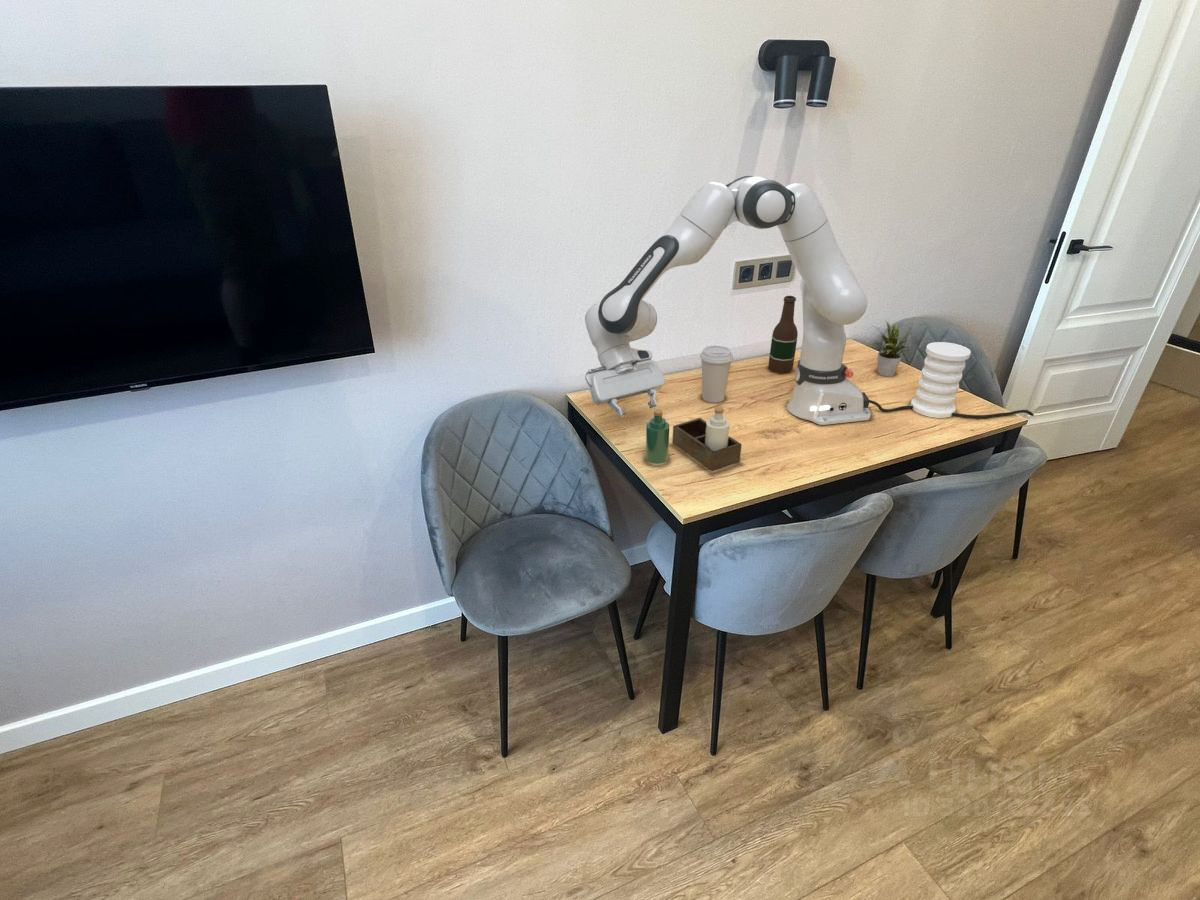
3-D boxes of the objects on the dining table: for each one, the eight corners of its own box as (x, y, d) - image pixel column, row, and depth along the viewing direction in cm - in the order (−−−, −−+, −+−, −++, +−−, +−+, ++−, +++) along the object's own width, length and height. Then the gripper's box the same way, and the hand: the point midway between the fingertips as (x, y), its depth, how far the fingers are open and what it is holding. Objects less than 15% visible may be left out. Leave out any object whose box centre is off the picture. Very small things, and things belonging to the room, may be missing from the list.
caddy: (672, 445, 166) (673, 425, 164) (698, 437, 170) (700, 417, 167) (711, 474, 154) (713, 453, 151) (739, 464, 158) (741, 444, 155)
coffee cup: (693, 401, 189) (696, 354, 181) (701, 389, 196) (704, 342, 189) (725, 406, 185) (730, 358, 178) (732, 393, 193) (737, 346, 186)
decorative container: (964, 413, 180) (982, 352, 171) (933, 421, 176) (950, 359, 167) (931, 397, 189) (946, 339, 180) (901, 404, 185) (915, 345, 176)
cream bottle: (724, 452, 161) (729, 403, 154) (728, 464, 156) (733, 413, 149) (702, 453, 161) (705, 403, 154) (705, 464, 156) (709, 414, 149)
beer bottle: (793, 374, 205) (804, 301, 193) (768, 373, 206) (777, 299, 194) (791, 365, 211) (802, 293, 199) (767, 364, 213) (776, 292, 201)
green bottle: (666, 454, 162) (668, 405, 155) (668, 466, 157) (671, 416, 151) (644, 455, 162) (645, 406, 156) (646, 466, 158) (647, 416, 151)
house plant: (851, 364, 211) (860, 316, 203) (891, 362, 213) (902, 314, 204) (872, 381, 199) (882, 331, 191) (914, 379, 200) (927, 329, 192)
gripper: (586, 365, 157) (607, 417, 154) (656, 349, 165) (676, 398, 163) (578, 376, 162) (598, 426, 160) (646, 360, 171) (665, 407, 168)
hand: (638, 411), depth 161 cm, fingers open, 8 cm apart
